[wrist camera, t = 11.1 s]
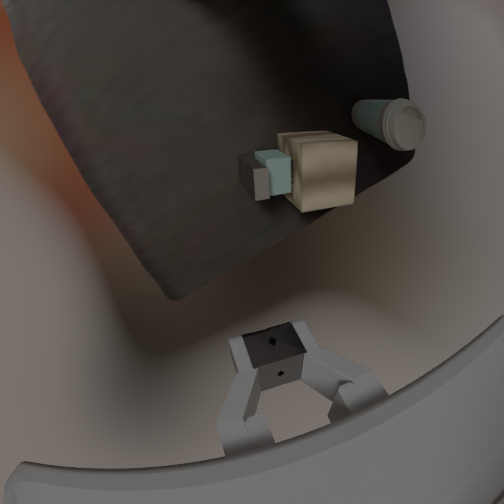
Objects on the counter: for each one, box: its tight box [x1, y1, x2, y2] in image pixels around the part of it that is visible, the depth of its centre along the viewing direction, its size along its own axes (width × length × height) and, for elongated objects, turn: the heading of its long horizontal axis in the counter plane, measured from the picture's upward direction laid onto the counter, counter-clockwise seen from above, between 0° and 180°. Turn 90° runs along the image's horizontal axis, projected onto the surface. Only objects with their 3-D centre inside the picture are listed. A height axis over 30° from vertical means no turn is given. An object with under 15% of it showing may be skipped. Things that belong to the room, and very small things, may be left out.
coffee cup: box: [352, 98, 426, 151], centre depth 38 cm, size 9×9×12 cm
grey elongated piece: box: [238, 154, 294, 201], centre depth 41 cm, size 4×18×8 cm, turn 94°
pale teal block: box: [254, 149, 291, 196], centre depth 40 cm, size 5×4×5 cm, turn 4°
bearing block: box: [277, 131, 358, 212], centre depth 41 cm, size 10×9×9 cm
